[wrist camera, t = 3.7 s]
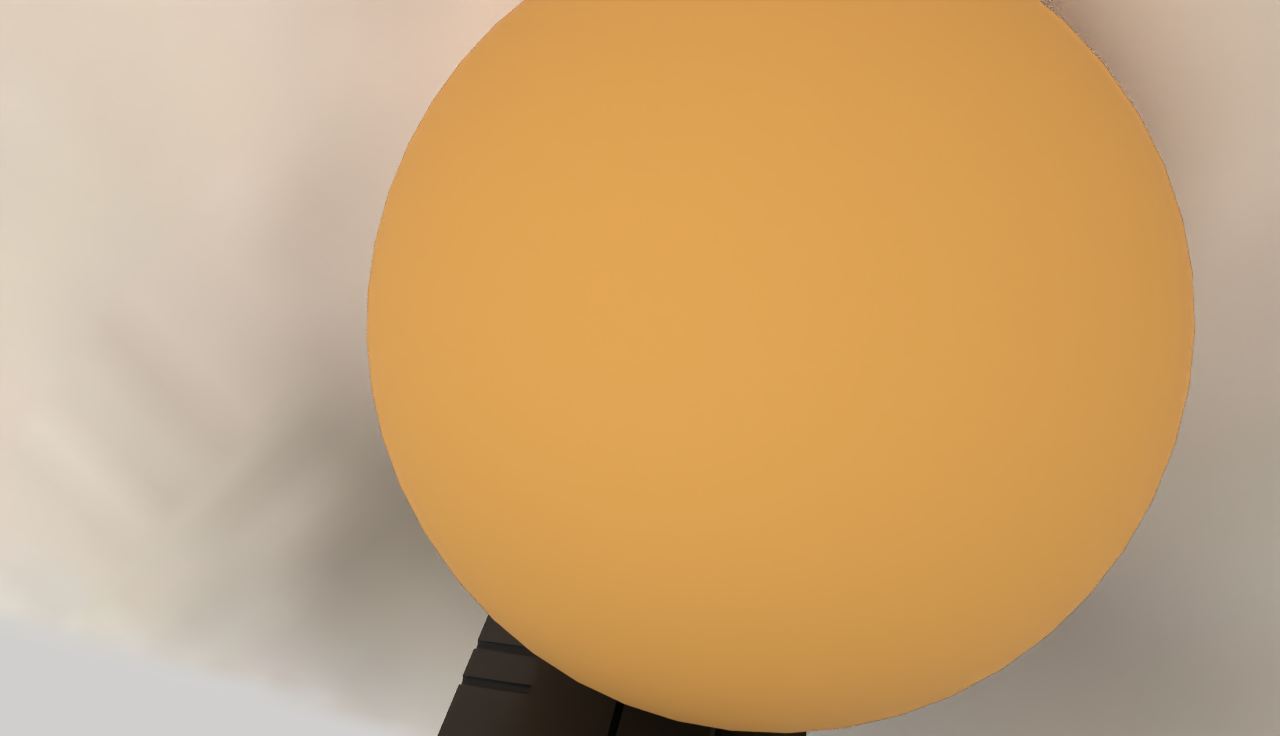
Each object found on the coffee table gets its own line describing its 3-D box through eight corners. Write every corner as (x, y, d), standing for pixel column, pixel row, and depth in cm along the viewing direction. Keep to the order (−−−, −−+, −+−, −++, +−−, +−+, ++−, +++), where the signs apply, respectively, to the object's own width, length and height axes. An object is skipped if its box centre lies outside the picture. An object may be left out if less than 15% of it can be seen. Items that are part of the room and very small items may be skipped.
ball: (1153, 116, 11) (1431, -247, 5) (1046, 730, 10) (1225, 996, 5) (570, 41, 12) (315, -319, 6) (458, 592, 12) (95, 688, 6)
